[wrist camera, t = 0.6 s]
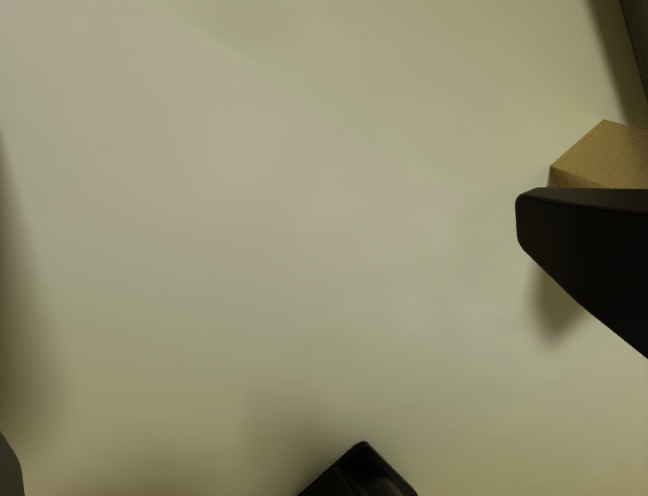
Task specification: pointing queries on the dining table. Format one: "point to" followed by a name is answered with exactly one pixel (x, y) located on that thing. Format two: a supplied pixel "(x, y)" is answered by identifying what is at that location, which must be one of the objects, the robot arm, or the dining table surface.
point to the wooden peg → (606, 159)
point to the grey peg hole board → (638, 34)
